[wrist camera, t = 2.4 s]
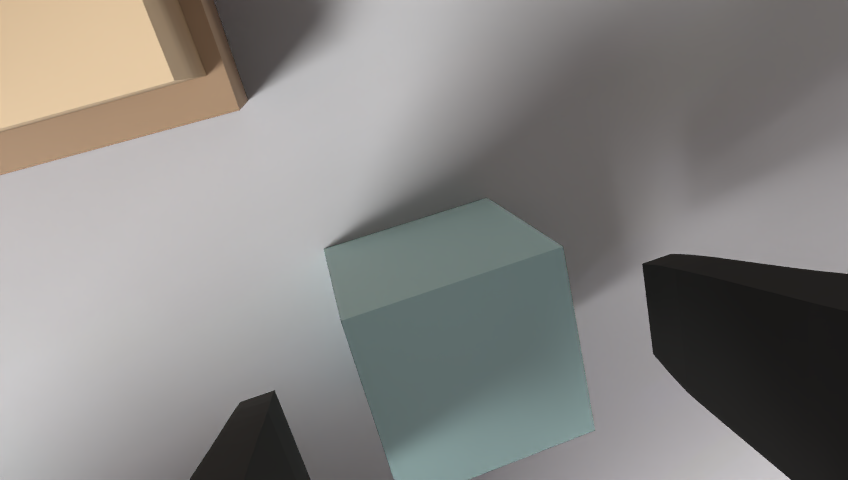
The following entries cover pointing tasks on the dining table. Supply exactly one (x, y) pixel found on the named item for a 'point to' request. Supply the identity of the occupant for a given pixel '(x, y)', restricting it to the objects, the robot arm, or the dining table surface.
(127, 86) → the tower top
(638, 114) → the dining table surface
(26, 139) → the tower base
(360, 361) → the teal cube
